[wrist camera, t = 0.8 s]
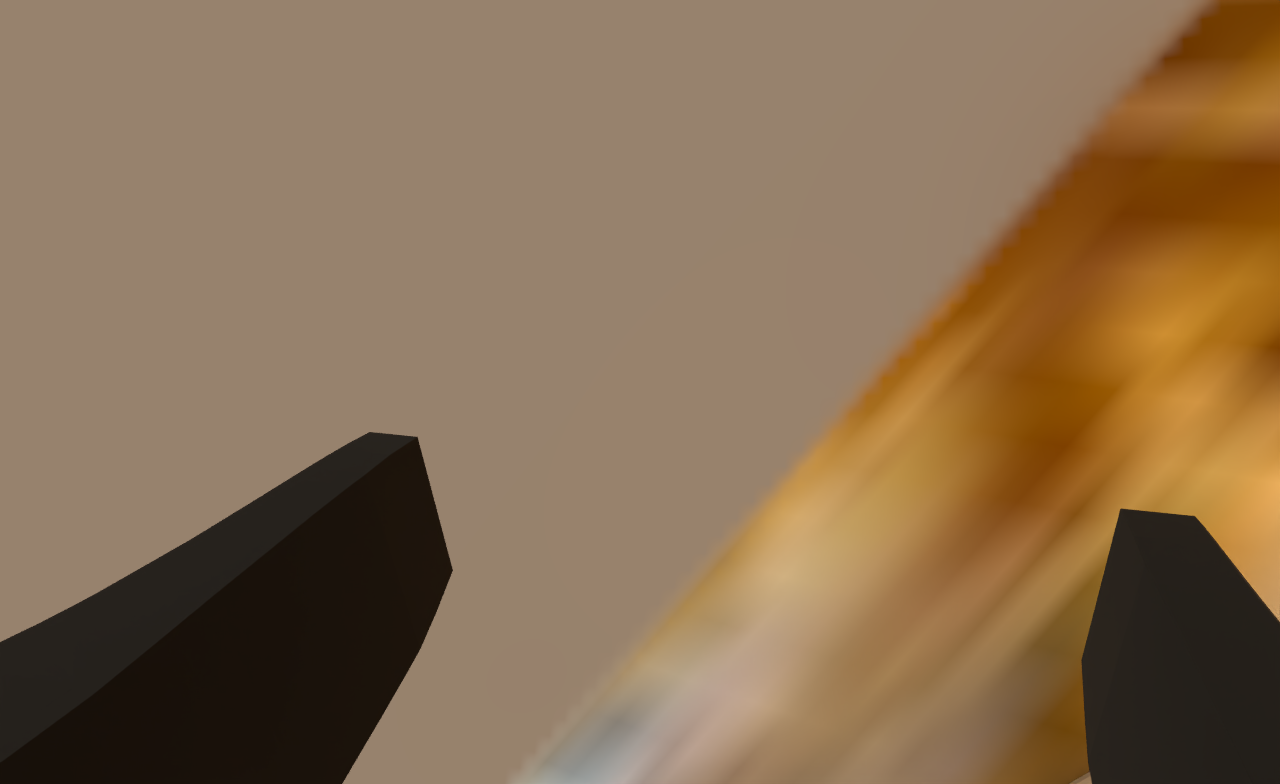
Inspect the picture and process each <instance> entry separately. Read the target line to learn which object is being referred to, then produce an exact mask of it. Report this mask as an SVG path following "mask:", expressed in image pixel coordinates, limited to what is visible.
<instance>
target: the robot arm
mask: <svg viewBox="0 0 1280 784" xmlns="http://www.w3.org/2000/svg"><path fill="white" fill-rule="evenodd" d="M452 571H453V569H452V566H451V562H450V558H449V554H448V551H447V547H446V543H445V539H444V536H443V532H442V528H441V524H440V520H439V517H438V513H437V509H436V505H435V502H434V498H433V494H432V490H431V486H430V483H429V479H428V475H427V471H426V467H425V464H424V460H423V457H422V452H421V449H420V445H419V441H418V437H413V436H402V435H393V434H383V433H373V432H369V433H367V434H365V435H363V436H362V437H360V438H358V439H356V440H354V441H352V442H350V443H348V444H347V445H345V446H343V447H341V448H340V449H338V450H336V451H334V452H333V453H331V454H329V455H328V456H326V457H324V458H323V459H321V460H319V461H318V462H316V463H314V464H313V465H311V466H309V467H308V468H306V469H305V470H303V471H301V472H300V473H298V474H296V475H295V476H293V477H292V478H290V479H288V480H287V481H285V482H283V483H282V484H281V485H279V486H277V487H276V488H274V489H272V490H271V491H269V492H267V493H266V494H264V495H263V496H261V497H259V498H258V499H256V500H255V501H253V502H251V503H250V504H248V505H247V506H245V507H243V508H242V509H240V510H238V511H237V512H235V513H233V514H232V515H230V516H228V517H227V518H225V519H224V520H222V521H220V522H219V523H217V524H215V525H214V526H212V527H211V528H209V529H207V530H206V531H204V532H202V533H201V534H199V535H197V536H196V537H194V538H192V539H191V540H189V541H187V542H186V543H184V544H182V545H180V546H179V547H177V548H175V549H173V550H172V551H170V552H168V553H166V554H165V555H163V556H161V557H159V558H158V559H156V560H154V561H152V562H151V563H149V564H147V565H145V566H144V567H142V568H140V569H138V570H137V571H135V572H133V573H131V574H130V575H128V576H126V577H124V578H123V579H121V580H119V581H117V582H116V583H114V584H112V585H110V586H109V587H107V588H105V589H103V590H102V591H100V592H98V593H96V594H94V595H93V596H91V597H89V598H87V599H85V600H83V601H82V602H79V603H78V604H76V605H74V606H72V607H70V608H68V609H67V610H64V611H62V612H60V613H58V614H56V615H54V616H52V617H51V618H49V619H47V620H45V621H43V622H41V623H39V624H37V625H35V626H33V627H31V628H29V629H26V630H24V631H22V632H20V633H18V634H16V635H14V636H12V637H10V638H8V639H6V640H4V641H2V642H0V784H342V783H343V781H344V780H345V778H346V776H347V774H348V773H349V771H350V770H351V768H352V766H353V764H354V763H355V761H356V759H357V758H358V756H359V754H360V753H361V751H362V749H363V747H364V746H365V744H366V742H367V741H368V739H369V737H370V736H371V734H372V732H373V731H374V729H375V727H376V725H377V724H378V722H379V720H380V719H381V717H382V715H383V714H384V712H385V710H386V708H387V707H388V705H389V703H390V701H391V700H392V698H393V696H394V694H395V693H396V691H397V689H398V687H399V686H400V684H401V682H402V681H403V679H404V677H405V675H406V674H407V672H408V670H409V668H410V666H411V665H412V663H413V661H414V659H415V658H416V656H417V654H418V652H419V650H420V648H421V646H422V644H423V642H424V639H425V637H426V635H427V632H428V630H429V627H430V626H431V623H432V621H433V619H434V616H435V614H436V612H437V609H438V607H439V604H440V601H441V599H442V596H443V594H444V591H445V589H446V586H447V584H448V581H449V579H450V576H451V574H452ZM1082 676H1083V693H1084V711H1085V726H1086V740H1087V753H1088V764H1089V770H1090V775H1091V781H1092V784H1280V622H1279V621H1278V619H1277V618H1276V617H1275V616H1274V614H1273V613H1272V612H1271V611H1270V609H1269V608H1268V607H1267V606H1266V604H1265V603H1264V602H1263V601H1262V599H1261V598H1260V597H1259V596H1258V594H1257V593H1256V592H1255V591H1254V589H1253V588H1252V587H1251V586H1250V584H1249V583H1248V582H1247V580H1246V579H1245V578H1244V577H1243V575H1242V574H1241V573H1240V572H1239V570H1238V569H1237V568H1236V566H1235V565H1234V564H1233V563H1232V561H1231V560H1230V559H1229V557H1228V556H1227V555H1226V554H1225V552H1224V551H1223V550H1222V549H1221V547H1220V546H1219V545H1218V543H1217V542H1216V541H1215V540H1214V538H1213V537H1212V536H1211V535H1210V533H1209V532H1208V531H1207V530H1206V528H1205V527H1204V526H1203V525H1202V524H1201V523H1200V521H1199V520H1198V519H1197V518H1196V517H1195V516H1188V515H1178V514H1168V513H1158V512H1148V511H1139V510H1129V509H1120V513H1119V517H1118V521H1117V524H1116V528H1115V532H1114V536H1113V540H1112V544H1111V548H1110V552H1109V556H1108V559H1107V563H1106V567H1105V571H1104V575H1103V579H1102V583H1101V587H1100V591H1099V594H1098V598H1097V602H1096V606H1095V610H1094V614H1093V618H1092V622H1091V626H1090V629H1089V633H1088V637H1087V641H1086V645H1085V649H1084V653H1083V657H1082Z"/></svg>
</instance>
